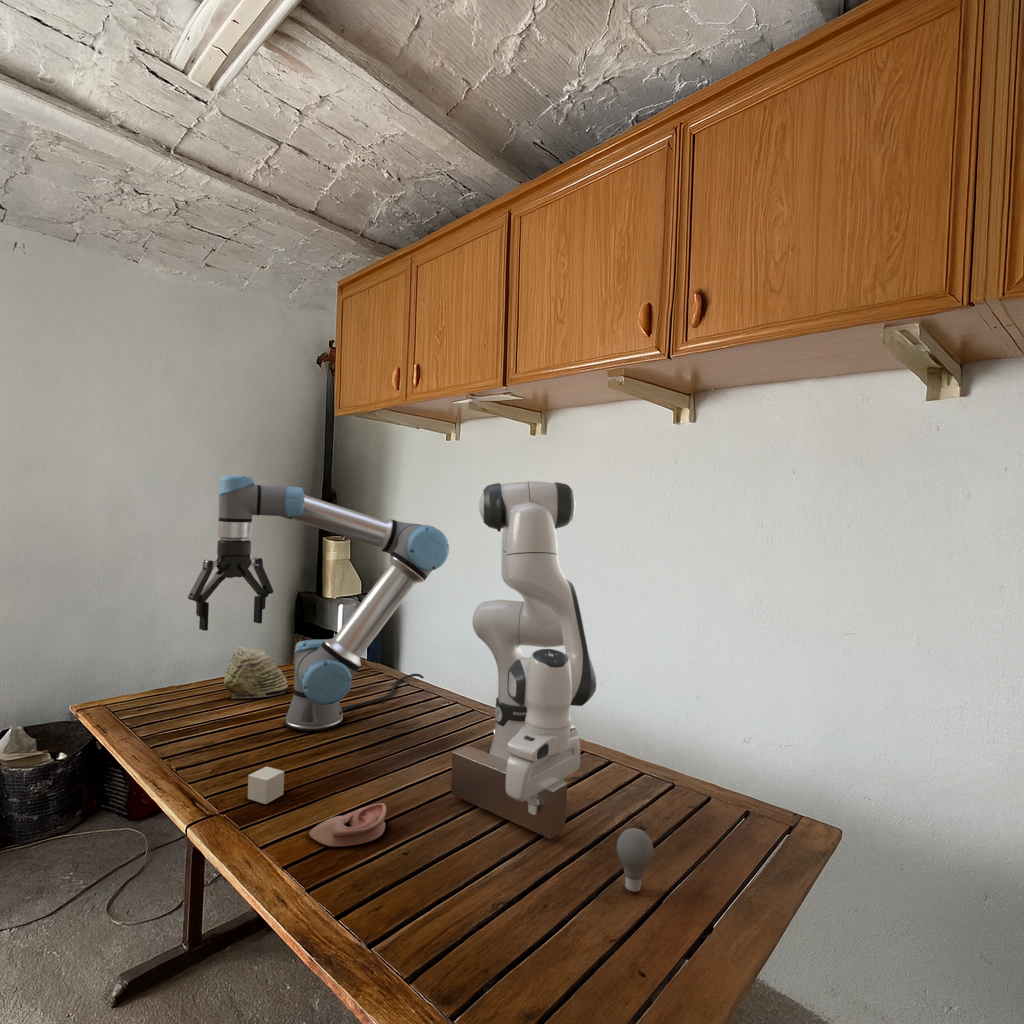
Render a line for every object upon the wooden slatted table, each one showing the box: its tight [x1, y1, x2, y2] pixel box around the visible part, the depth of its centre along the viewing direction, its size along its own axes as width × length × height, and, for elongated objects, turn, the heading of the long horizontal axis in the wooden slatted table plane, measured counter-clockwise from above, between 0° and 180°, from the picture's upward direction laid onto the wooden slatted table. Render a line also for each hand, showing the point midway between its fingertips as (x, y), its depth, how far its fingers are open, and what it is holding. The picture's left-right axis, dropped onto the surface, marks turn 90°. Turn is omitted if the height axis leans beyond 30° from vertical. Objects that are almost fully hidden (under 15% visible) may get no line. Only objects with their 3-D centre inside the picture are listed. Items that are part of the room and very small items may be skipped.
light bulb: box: [616, 827, 654, 893], centre depth 106 cm, size 6×6×10 cm
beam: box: [450, 745, 568, 840], centre depth 128 cm, size 5×26×9 cm, turn 51°
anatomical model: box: [308, 802, 387, 848], centre depth 120 cm, size 13×4×12 cm
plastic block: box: [247, 766, 285, 805], centre depth 133 cm, size 5×5×5 cm
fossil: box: [223, 646, 289, 700], centre depth 198 cm, size 9×18×15 cm, turn 132°
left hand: (231, 626), depth 154 cm, fingers open, 13 cm apart
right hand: (543, 807), depth 122 cm, fingers closed on beam, 5 cm apart
